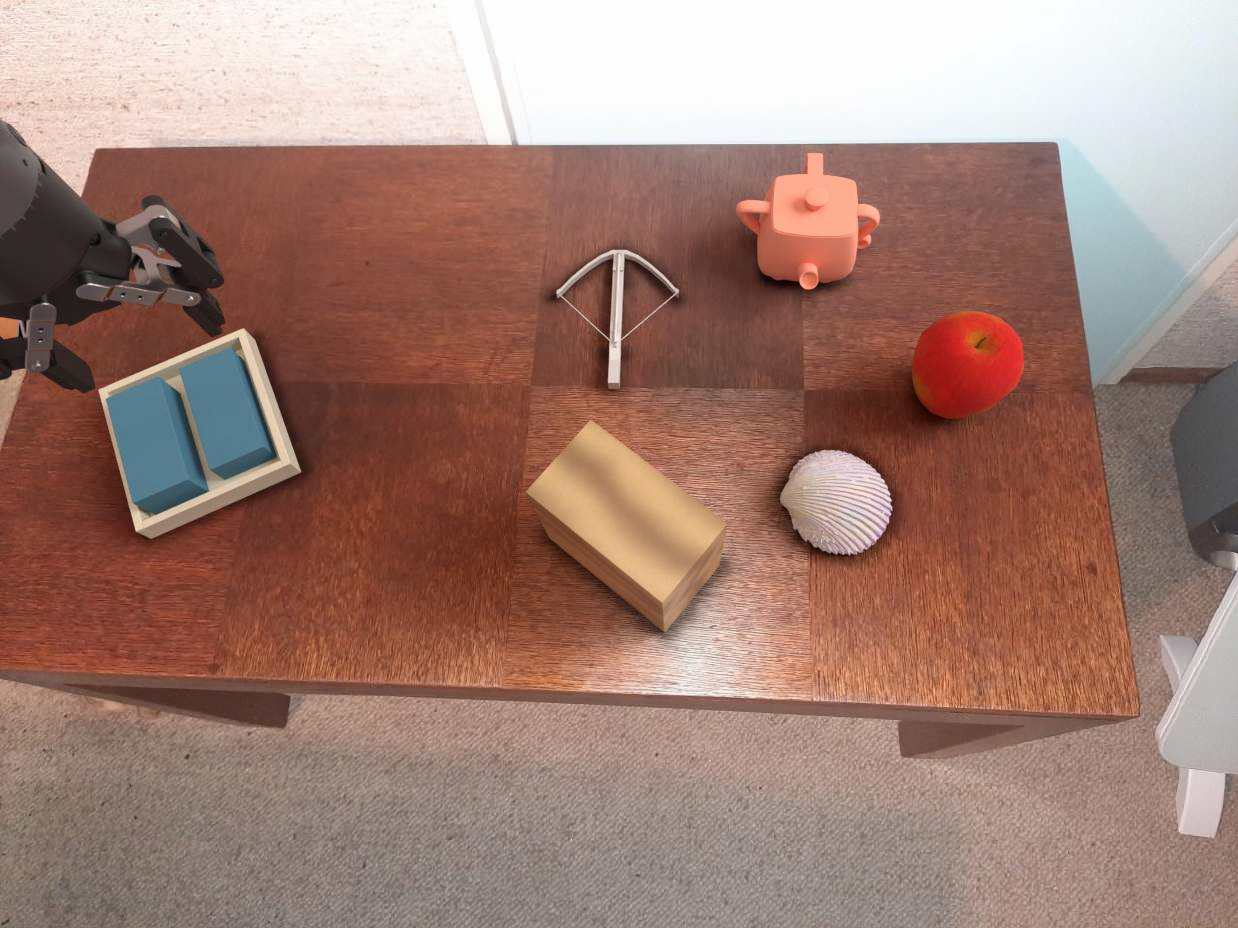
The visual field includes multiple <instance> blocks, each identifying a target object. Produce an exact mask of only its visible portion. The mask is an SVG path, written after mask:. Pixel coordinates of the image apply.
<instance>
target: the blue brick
mask: <svg viewBox="0 0 1238 928" xmlns="http://www.w3.org/2000/svg"><path fill="white" fill-rule="evenodd" d="M179 371H180V375H181V378H182V381H183V384H184V388H185V391H186V394H187V397H188V401H189V404H190V407H191V410H192V414H193V417H194V420H195V423H196V427H197V430H198V433H199V436H200V440H201V443H202V446H203V449H204V453H205V456H206V459H207V463H208V466H209V469H210V470H211V471H212V472H214V473H215V474H217V475H218V476H220V477H221V478H223V479H224V480H227V479H229V478H231V477H233V476H236V475H238V474H240V473H242V472H245V471H247V470H249V469H252V468H254V467H256V466H258V465H261V464H263V463H265V462H267V461H270V460H272V459H274V458H277V455H276V452H275V449H274V446H273V443H272V440H271V437H270V435H269V432H268V429H267V426H266V423H265V420H264V417H263V414H262V411H261V408H260V405H259V402H258V399H257V396H256V393H255V390H254V388H253V385H252V382H251V379H250V376H249V373H248V370H247V367H246V364H245V361H244V360H243V359H242V358H241V357H240V356H239V355H238V354H237V353H236V352H235V351H234V350H233V349H232V348H228V349H225V350H223V351H221V352H218V353H216V354H214V355H211V356H209V357H207V358H204V359H202V360H200V361H197V362H195V363H193V364H190V365H188V366H186V367H183V368H181V369H179Z"/></svg>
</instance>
